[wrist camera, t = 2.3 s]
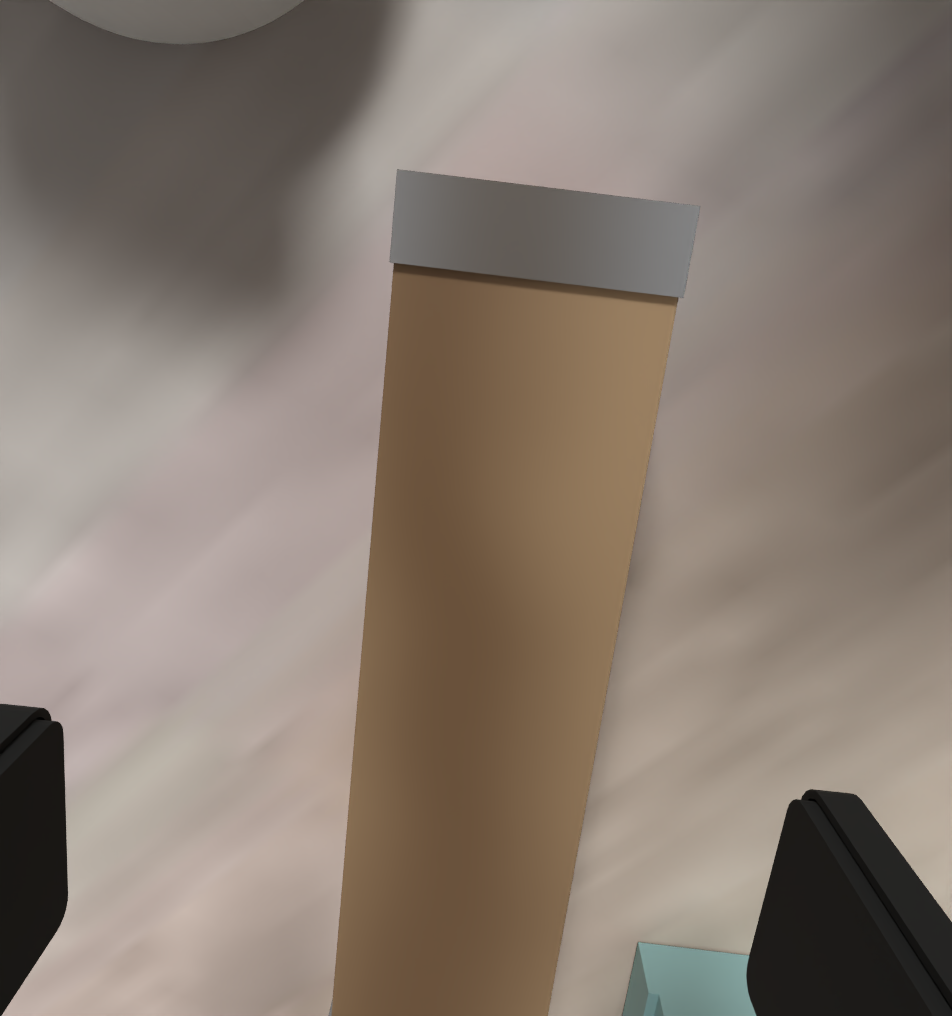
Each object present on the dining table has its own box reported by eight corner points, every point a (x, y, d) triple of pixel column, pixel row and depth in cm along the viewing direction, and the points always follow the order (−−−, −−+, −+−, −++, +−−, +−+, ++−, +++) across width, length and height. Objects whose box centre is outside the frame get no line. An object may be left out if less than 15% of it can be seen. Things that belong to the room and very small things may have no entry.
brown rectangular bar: (638, 228, 16) (700, 206, 11) (529, 895, 20) (536, 1094, 15) (431, 203, 16) (397, 169, 11) (367, 875, 20) (323, 1068, 15)
